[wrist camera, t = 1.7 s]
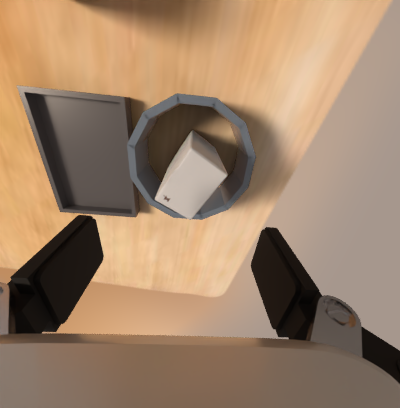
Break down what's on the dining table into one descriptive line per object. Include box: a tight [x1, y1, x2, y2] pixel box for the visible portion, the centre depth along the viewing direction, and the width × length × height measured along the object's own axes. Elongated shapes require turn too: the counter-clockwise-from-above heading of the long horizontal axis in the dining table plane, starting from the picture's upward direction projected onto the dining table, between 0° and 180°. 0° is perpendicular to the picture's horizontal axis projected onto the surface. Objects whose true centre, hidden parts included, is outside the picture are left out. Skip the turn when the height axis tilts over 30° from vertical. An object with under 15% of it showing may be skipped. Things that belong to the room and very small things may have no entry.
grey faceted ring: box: [127, 94, 256, 220], centre depth 24 cm, size 15×15×6 cm
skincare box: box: [155, 130, 228, 220], centre depth 21 cm, size 6×4×12 cm
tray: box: [17, 85, 140, 217], centre depth 25 cm, size 12×17×2 cm
